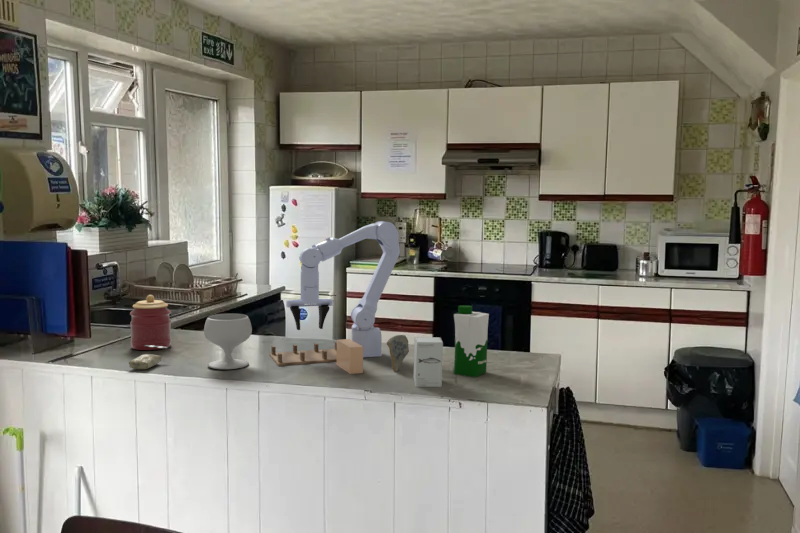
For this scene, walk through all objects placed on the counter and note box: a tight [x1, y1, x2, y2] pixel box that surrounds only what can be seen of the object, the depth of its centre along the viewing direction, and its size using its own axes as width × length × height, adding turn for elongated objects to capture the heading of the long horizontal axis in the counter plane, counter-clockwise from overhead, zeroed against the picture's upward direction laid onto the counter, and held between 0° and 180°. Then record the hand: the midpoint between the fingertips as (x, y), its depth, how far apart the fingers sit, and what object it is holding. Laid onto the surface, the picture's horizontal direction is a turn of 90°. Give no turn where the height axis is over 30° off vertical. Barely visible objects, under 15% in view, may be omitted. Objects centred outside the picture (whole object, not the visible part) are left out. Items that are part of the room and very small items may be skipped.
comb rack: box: [268, 341, 337, 367], centre depth 220 cm, size 23×15×3 cm, turn 111°
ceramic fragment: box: [386, 334, 410, 373], centre depth 207 cm, size 11×3×10 cm, turn 151°
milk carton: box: [453, 304, 490, 378], centre depth 201 cm, size 9×9×20 cm
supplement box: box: [413, 336, 444, 388], centre depth 190 cm, size 7×7×13 cm
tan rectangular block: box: [335, 338, 364, 375], centre depth 206 cm, size 4×12×8 cm, turn 24°
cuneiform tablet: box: [128, 345, 169, 370], centre depth 207 cm, size 7×4×12 cm
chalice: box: [203, 312, 253, 370], centre depth 208 cm, size 14×14×15 cm
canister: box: [129, 294, 172, 351], centre depth 232 cm, size 13×13×18 cm
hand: (309, 328), depth 219 cm, fingers open, 7 cm apart
